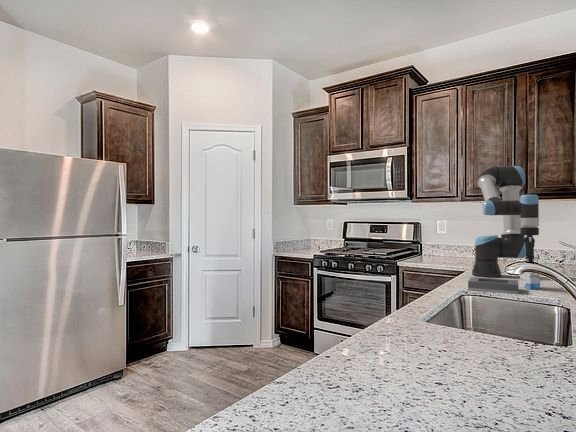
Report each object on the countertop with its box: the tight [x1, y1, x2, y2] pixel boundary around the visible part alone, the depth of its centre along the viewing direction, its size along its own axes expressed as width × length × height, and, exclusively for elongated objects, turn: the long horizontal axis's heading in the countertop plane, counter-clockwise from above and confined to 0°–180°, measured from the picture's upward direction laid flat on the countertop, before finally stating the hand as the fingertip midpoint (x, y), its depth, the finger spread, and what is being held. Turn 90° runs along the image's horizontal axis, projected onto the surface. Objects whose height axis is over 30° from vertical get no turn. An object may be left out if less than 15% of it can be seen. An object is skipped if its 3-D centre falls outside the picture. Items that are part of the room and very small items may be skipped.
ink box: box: [519, 273, 541, 290], centre depth 179 cm, size 9×5×12 cm, turn 179°
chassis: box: [467, 276, 519, 295], centre depth 176 cm, size 14×20×4 cm
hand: (530, 271), depth 179 cm, fingers open, 13 cm apart
